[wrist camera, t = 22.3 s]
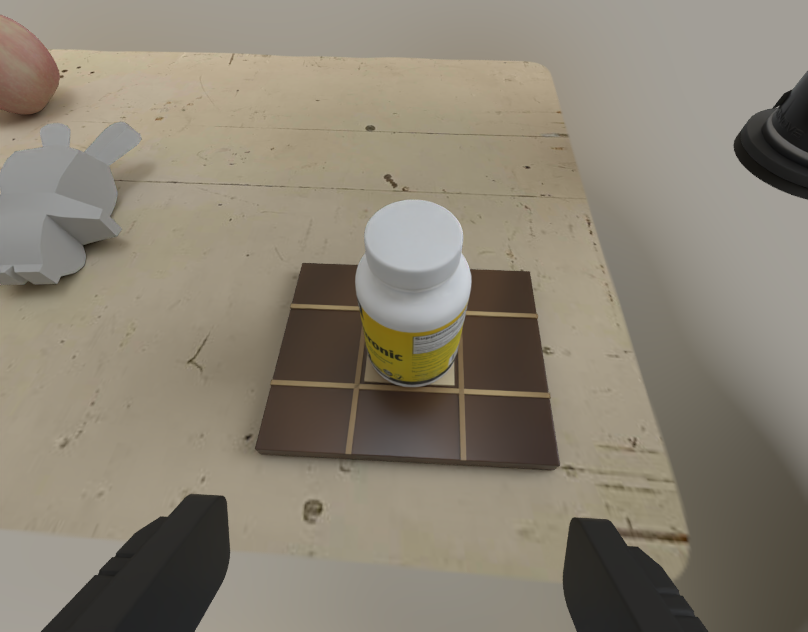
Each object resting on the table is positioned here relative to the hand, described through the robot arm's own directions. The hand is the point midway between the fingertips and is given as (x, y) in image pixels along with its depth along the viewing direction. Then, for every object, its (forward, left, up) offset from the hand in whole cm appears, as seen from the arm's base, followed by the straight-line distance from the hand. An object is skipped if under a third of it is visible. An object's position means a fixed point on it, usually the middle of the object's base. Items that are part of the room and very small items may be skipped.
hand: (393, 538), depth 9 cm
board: (0, -11, -12) cm, 16 cm away
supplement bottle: (0, -11, -11) cm, 15 cm away
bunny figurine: (+27, -22, -12) cm, 37 cm away
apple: (+40, -38, -12) cm, 56 cm away
